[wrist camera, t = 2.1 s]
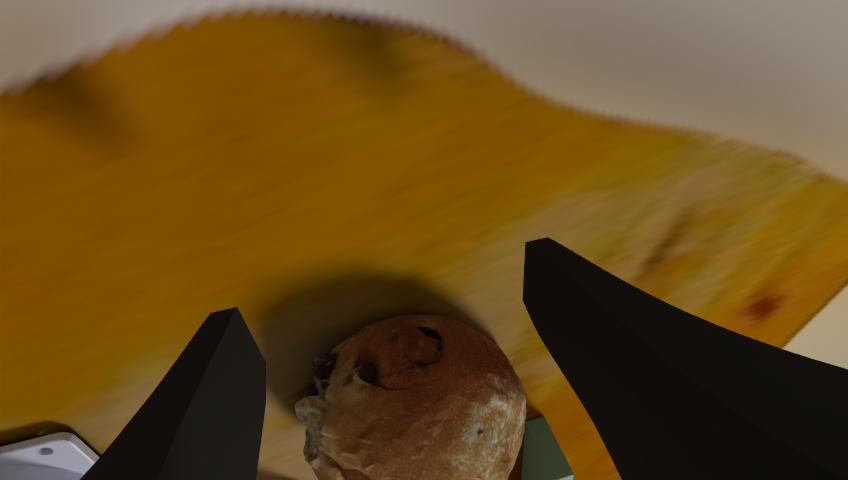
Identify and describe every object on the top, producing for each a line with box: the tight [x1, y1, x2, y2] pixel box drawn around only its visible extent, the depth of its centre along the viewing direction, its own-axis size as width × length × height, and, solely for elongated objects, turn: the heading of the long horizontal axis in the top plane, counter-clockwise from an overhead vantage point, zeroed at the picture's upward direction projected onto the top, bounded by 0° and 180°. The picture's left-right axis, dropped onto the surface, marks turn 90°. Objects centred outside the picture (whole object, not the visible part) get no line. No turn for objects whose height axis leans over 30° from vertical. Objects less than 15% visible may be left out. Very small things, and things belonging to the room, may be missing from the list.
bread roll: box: [294, 314, 526, 480], centre depth 19 cm, size 10×10×8 cm
